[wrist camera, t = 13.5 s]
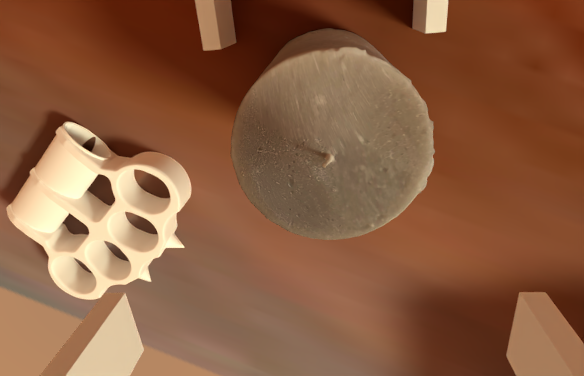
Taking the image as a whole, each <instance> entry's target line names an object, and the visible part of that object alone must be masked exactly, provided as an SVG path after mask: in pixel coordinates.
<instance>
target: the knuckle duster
mask: <svg viewBox="0 0 584 376" xmlns="http://www.w3.org/2000/svg"><path fill="white" fill-rule="evenodd" d="M92 137H96V141H95V145H94V148H93V150H92V152H90V151H88V150H86V149H85V148H83V147H82V145H83V144H84V143H85V142H86V141H87V140H89V139H90V138H92ZM134 169H139V170H143V171H145V172H148V173H150V174H152V175H154V176H156V177H158V178H159V179H161V180H162V181H163V182H164V183H165V185H166V186H167V188H168V190H169V193H170V198H160V197H157V196H154V195H152V194H150V193H148V192H146V191H144V190H143V189H142V188H141V187H140V186H139V185H138V184H137V182H136V180H135V177H134ZM98 174H101V175H104V176H106V177H107V178H108V179H109V180H110V182H111V187H112V191H113V194H114V196H115V202H114V203H113V205H112V206H109V205H107V204H105V203H104V202H103V201H101V200H100V199H98V198H97V197H96V196H94V195H93V194H92V193H90V192H89V191H88V190H87V189H88V188H89V186H90V185H91V184H92V182H93V181H94V180H95V178H96V177H97V176H98ZM190 196H191V183H190V179H189V177H188V175H187V173H186V171H185V170H184V168H183V167H182V166H181V165H180V164H179V163H178V162H177V161H175V160H174V159H173V158H171V157H169V156H167V155H165V154H162V153H158V152H143V153H140V154H137V155H135V156H134V157H132V158H129V157H122V156H118V155H116V154H115V153H114V152H112V151H111V150H110V149H109V148H108V146H107V145H106V144H105V143H104V142H103V141H102V140H101V139H99V138H98V137H97V136H95V135H94V134H93V133H92V132H90V131H89V130H88V129H86V128H84V127H82V126H80V125H78V124H76V123H73V122H65V123H64V124H63V125H62V126H61V127H59V128H58V129H57V130H56V136H55V137H54V139H53V141H52V142H51V144H50V145H49V147H48V148H47V150H46V151H45V153H44V154H43V156H42V158H41V159H40V161H39V162H38V164H37V165H36V167H34V168H32V169H31V171H30V176H29V178H28V179H27V181H26V182H25V184H24V185H23V187H22V189H21V190H20V192H19V193H18V195H17V196H16V198H15V199H14V201H13V202H12V203H11V204H10V205H8V207H7V208H6V210H7V215H8V217H9V219H10V220H11V222H12V223H13V224H14V225H15V226H16V227H17V228H18V229H20V230H21V231H23V232H24V233H25V234H26V235H27V236H29V237H30V238H32V239H33V240H35V241H36V242H38V243H39V244H40V245H42V246H43V247H44V249H45V251H46V253H47V254H48V256H49V260H48V270H49V273H50V275H51V277H52V279H53V281H54V282H55V283H56V284H57V285H58V286H59V287H60V288H61V289H62V290H63V291H65V292H66V293H68V294H70V295H72V296H74V297H77V298H81V299H97V298H100V297H101V296H102V295H103V294H104V292H105V291H106V290H107V289H108V287H109V286H112V285H116V284H124V285H125V284H127V283H129V282H131V281H133V280H135V279H137V278H140V279H143V280H146V281H149V282H151V279H150V275H149V270H148V265H149V264H150V263H151V261H152V260H153V259H154V258H157V257H160V255H161V254H162V252H163V251H164V250H165V248H185V247H184V246H183V244H182V243H181V242H180V240H179V239H178V238H177V236H176V235H175V234H174V232H175V230H176V228H177V221H176V214H177V212H179V211H180V210H181V209H182V207H183V206H184V204H185V203H186V202H187V200H188V199H189V198H190ZM125 211H126V212H131V213H134V214H136V215H139V216H141V217H143V218H145V219H147V220H148V221H150V222H151V223H152V224H153V225H154V227H155V228H156V230H157V233H158V234H149V233H146V232H144V231H142V230H140V229H137V228H136V227H134V226H133V225H132V224H131V223H130V222H129V221H128V220H127V218H126V215H125ZM69 213H70V214H71V215H73V216H74V217H75V218H77V219H78V220H80V221H81V222H82V223H84V224H85V225H86V226H87V227H88V229H89V234H88V235H86V234H77V235H75V234H72V233H70V232H69V231H68V229H67V227H66V225H65V224H63V223H62V222H63V221H64V220H65V218H66V217H67V216H68V214H69ZM104 241H108V242H111V243H113V244H114V245H116V246H117V247H118V248H120V250H121V251H122V252H123V253H124V254H125V255H126V256H127V258H128V259H129V261H125V260H122V259H120V258H118V257H116V256H115V255H114V254H113V253H112V252H111V251H110V249H109V248H108V247H107V246H106V244H105V243H104ZM73 257H74V258H76V259H78V260H80V261H81V262H83V263H84V264H85V265H86V266H87V267H88V268H89V270H90V271H91V272H92V273H93V274H92V273H89V272H87V271H86V270H84V269H83V268H82V267H81V266H80V265H79V264H78V263H77V262H76V261H75V259H74V258H73Z"/></svg>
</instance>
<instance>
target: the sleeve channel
mask: <svg viewBox="0 0 584 376" xmlns="http://www.w3.org/2000/svg"><path fill="white" fill-rule="evenodd" d="M195 4H196V10H197V16H198V22H199V28H200V33H201V39H202V45H203V51H206V50H219V49H223V48H225V47H228V46H230V45H233V44H235V43H236V36H235V28H234V21H233V13H232V6H231V0H195ZM447 10H448V0H414V2H413V23H412V29H414V30H417V31H420V32H423V33H436V32H446V22H447Z"/></svg>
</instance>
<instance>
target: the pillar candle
mask: <svg viewBox="0 0 584 376" xmlns="http://www.w3.org/2000/svg"><path fill="white" fill-rule="evenodd" d="M433 128H434V127H433V121H431V120H430V119H429V116H428V108H427V105H426V103H425V101H424V100H423V99H422V98H421V97H420V95H419V94H418V92H417V90H416V89H415V88H414V86H413V85H412V84H411V80H410V79H408V78H407V77H406V76H404V75H403V74H402V73H401V72H400V71H399V70H398V69H396V68H395V67H394V66H393V65H391V63H390V62H388V61H387V60H386V59H385V58H384V57H383V55H382V54H381V53H379V52H378V51H377V50H376V49H375V48H374V47H373V46H372V45H371V44H370V43H369V42H367V41H366V40H365V39H363V38H362V37H360V36H358V35H356V34H354V33H352V32H349V31H346V30H339V29H336V30H335V29H333V28H325V29H319V30H315V31H311V32H307V33H306V34H303V35H301V36H298V37H296V38H294V39H292V40H290V41H289V42H287V43H286V45H285V46H284V47H283V48H282V49H281V50H280V51H279V52H278V54H277V55H276V57H275V58H274V59H273V60H272V62H271V63H270V64H269V65H268V66H267V68H266V69H265V70H264V72H262V74H261V75H260V77H259V78H258V79H257V80H256V82H255V83H254V84H253V85H252V87H251V88H250V89H249V91H248V92H247V94H246V95H245V97H244V99H243V100H242V102H241V104H240V106H239V109H238V111H237V114H236V117H235V121H234V125H233V130H232V136H231V158H232V161H233V166H234V169H235V172H236V175H237V179H238V181H239V184H240V185H241V188H242V189H243V191H244V193H245V194H246V196H247V197H248V199H249V200H250V201H251V203H252V204H253V205H254V206H255V207H256V208H257V209H258V210H259V211H260V212H261V213H262V214H263V215H265V217H266V218H267V219H269V220H270V221H272V222H274V223H275V224H277V225H279V226H281V227H282V228H284V229H286V230H287V231H289V232H292V233H294V234H297V235H301V236H305V237H309V238H314V239H323V240H337V239H345V238H351V237H357V236H361V235H364V234H366V233H368V232H371V231H373V230H375V229H377V228H379V227H381V226H383V225H385V224H386V223H388V222H389V221H391V220H392V219H394V218H395V217H397V216H398V215H399V214H400V213H401V212H403V211H404V210H405V209H406V207H407V206H408V205H409V204H410V203H411V202H412V201H413V199H414V198H415V197H416V196H417V194H418V193H420V192H421V191H422V190H423V189H424V188H425V187H426V183H427V177H428V176H429V175H430V173H431V171H432V167H433V165H434V159H433V154H434V153H435V150H434V149H433Z"/></svg>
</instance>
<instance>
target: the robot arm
mask: <svg viewBox="0 0 584 376" xmlns="http://www.w3.org/2000/svg"><path fill="white" fill-rule="evenodd" d="M143 351H144V349H143V346H142V342H141V339H140V336H139V333H138V330H137V327H136V324H135V321H134V318H133V315H132V312H131V309H130V306H129V303H128V300H127V297H126V294H125V293H104V295H103V296H102V297H101V298H100V300H99V301H98V302H97V304H96V305H95V306H94V307H93V309H92V310H91V311H90V312H89V314H88V315H87V316H86V318H85V319H84V320H83V321H82V323H81V324H80V325H79V326H78V328H77V329H76V330H75V331H74V333H73V334H72V335H71V337H70V338H69V339H68V340H67V342H66V343H65V344H64V345H63V347H62V348H61V349H60V351H59V352H58V353H57V354H56V356H55V357H54V358H53V360H52V361H51V362H50V363H49V364H48V366H47V367H46V368H45V370H44V371H43V372H42V373H41V375H40V376H130V374H131V373H132V371H133V369H134V367H135V365H136V363H137V362H138V360H139V358H140V356H141V354H142V352H143ZM506 356H507V358H508V361H509V363H510V365H511V367H512V369H513V371H514V373H515V375H516V376H584V343H583V342H582V341H581V339H580V338H579V337H578V335H577V334H576V333H575V331H574V330H573V328H572V327H571V326H570V324H569V323H568V322H567V320H566V319H565V318H564V316H563V315H562V314H561V312H560V311H559V310H558V308H557V307H556V306H555V304H554V303H553V302H552V300H551V299H550V297H549V296H548V295H547V293H546V292H519V296H518V301H517V306H516V311H515V315H514V320H513V325H512V330H511V335H510V340H509V344H508V349H507V354H506Z"/></svg>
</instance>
